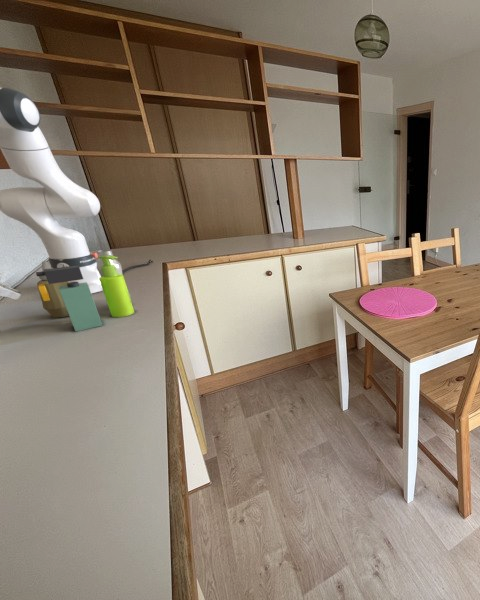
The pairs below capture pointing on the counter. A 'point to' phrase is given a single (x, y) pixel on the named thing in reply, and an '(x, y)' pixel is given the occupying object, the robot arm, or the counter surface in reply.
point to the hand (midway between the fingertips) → (19, 296)
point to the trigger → (44, 292)
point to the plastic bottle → (113, 262)
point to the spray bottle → (74, 296)
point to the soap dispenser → (115, 289)
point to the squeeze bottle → (53, 295)
